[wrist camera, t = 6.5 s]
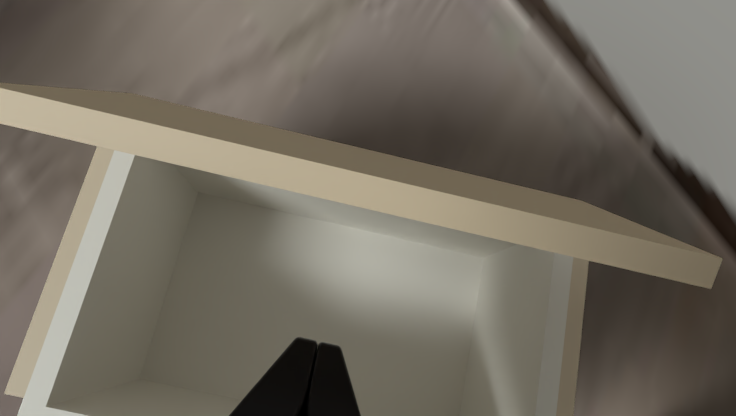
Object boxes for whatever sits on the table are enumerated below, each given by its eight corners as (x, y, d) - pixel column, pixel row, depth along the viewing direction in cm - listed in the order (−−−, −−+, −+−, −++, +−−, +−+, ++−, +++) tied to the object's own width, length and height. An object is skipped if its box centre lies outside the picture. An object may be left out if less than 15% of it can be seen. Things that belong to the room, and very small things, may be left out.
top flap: (711, 289, 9) (722, 258, 9) (-37, 115, 8) (-33, 80, 8) (575, 219, 15) (581, 200, 15) (129, 114, 14) (132, 93, 14)
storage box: (472, 476, 20) (558, 560, 13) (108, 399, 20) (-15, 443, 12) (504, 252, 23) (593, 217, 15) (180, 177, 22) (113, 103, 15)
